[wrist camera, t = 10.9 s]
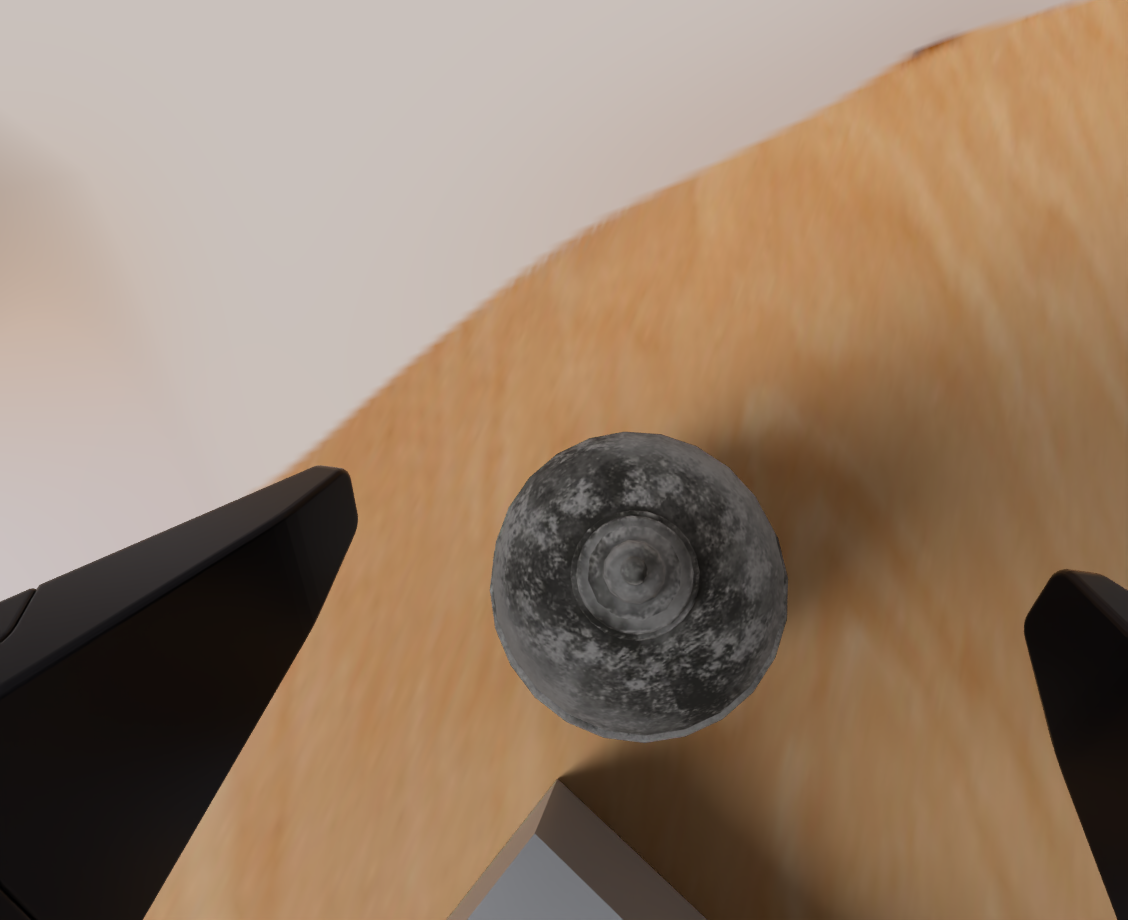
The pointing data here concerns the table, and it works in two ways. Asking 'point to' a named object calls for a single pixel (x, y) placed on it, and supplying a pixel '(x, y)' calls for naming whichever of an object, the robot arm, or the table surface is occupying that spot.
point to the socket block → (570, 872)
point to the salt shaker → (638, 587)
